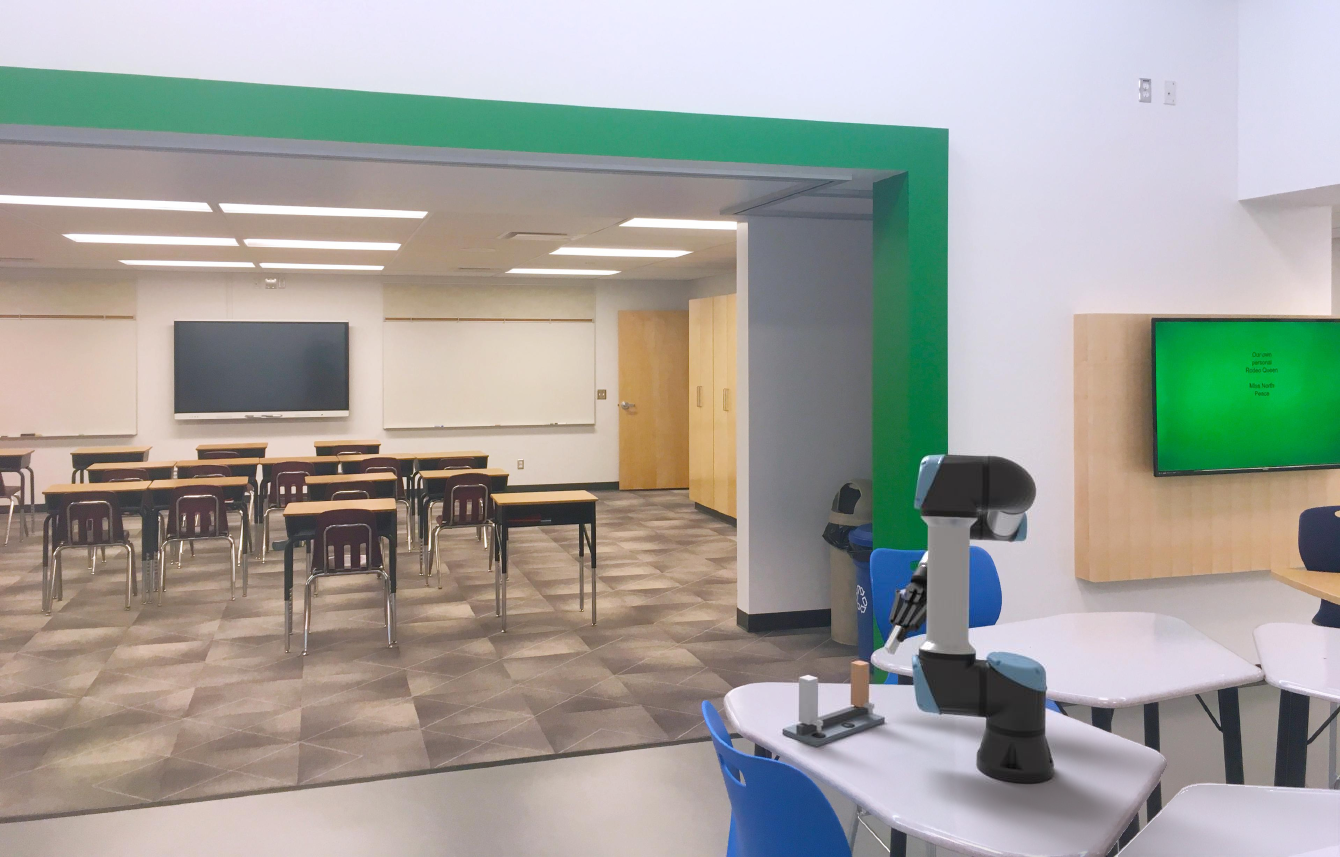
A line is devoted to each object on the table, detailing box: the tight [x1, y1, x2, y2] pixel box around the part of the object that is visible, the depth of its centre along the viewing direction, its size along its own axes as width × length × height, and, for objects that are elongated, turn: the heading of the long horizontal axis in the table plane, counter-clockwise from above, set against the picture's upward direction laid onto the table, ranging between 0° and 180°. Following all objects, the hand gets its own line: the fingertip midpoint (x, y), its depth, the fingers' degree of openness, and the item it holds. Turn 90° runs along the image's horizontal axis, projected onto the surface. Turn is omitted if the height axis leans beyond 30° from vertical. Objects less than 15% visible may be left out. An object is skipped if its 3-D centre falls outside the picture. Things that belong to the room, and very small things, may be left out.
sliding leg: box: [850, 659, 875, 715], centre depth 236 cm, size 3×5×11 cm, turn 40°
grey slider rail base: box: [782, 674, 886, 747], centre depth 231 cm, size 24×10×14 cm, turn 130°
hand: (888, 650), depth 244 cm, fingers closed
